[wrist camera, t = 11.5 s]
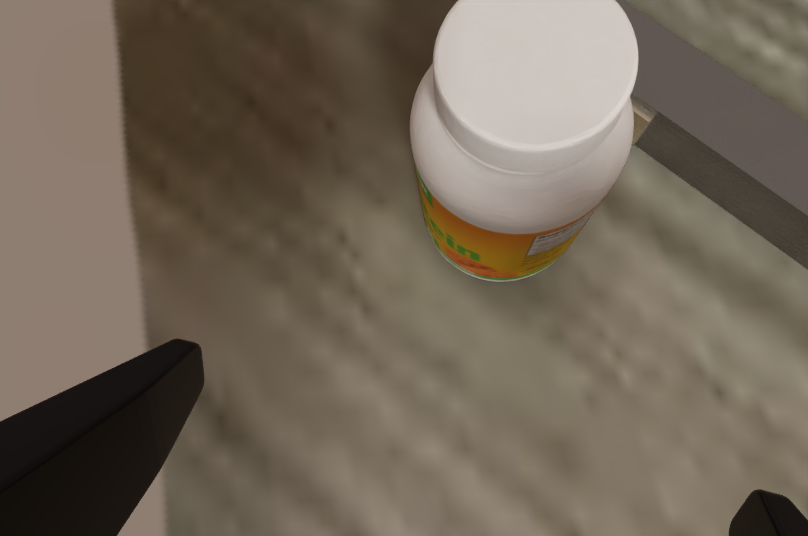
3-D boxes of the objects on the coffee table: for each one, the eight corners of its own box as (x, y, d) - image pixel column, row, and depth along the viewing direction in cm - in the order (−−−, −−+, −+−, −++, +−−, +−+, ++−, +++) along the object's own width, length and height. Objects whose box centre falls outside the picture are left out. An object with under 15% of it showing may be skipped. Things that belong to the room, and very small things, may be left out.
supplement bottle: (394, 193, 21) (344, 30, 12) (515, 112, 22) (560, -111, 12) (482, 315, 20) (502, 241, 11) (609, 226, 20) (740, 78, 11)
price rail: (1016, 431, 18) (1105, 437, 15) (484, 44, 22) (487, 1, 20) (1068, 362, 18) (1162, 356, 16) (531, -6, 23) (540, -55, 20)
